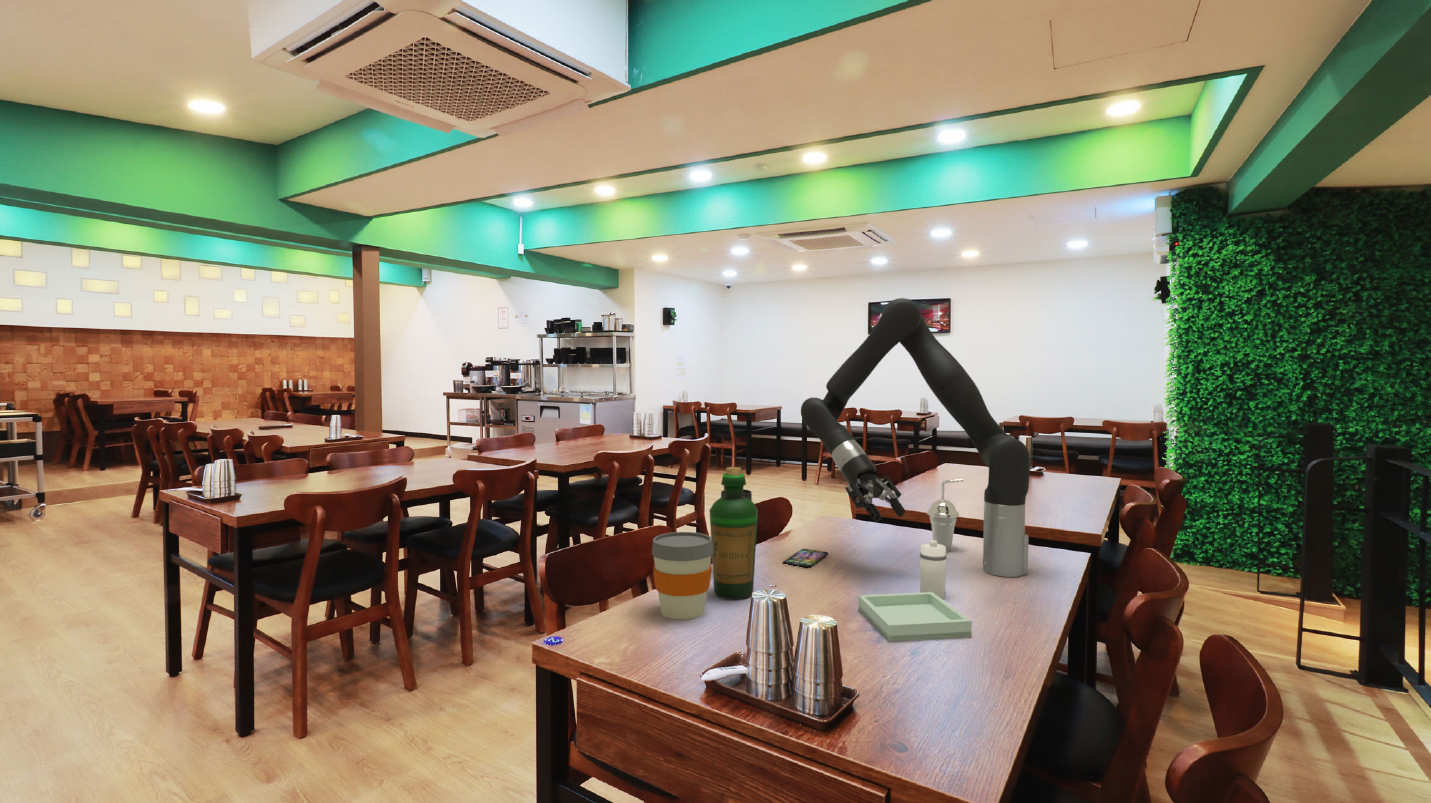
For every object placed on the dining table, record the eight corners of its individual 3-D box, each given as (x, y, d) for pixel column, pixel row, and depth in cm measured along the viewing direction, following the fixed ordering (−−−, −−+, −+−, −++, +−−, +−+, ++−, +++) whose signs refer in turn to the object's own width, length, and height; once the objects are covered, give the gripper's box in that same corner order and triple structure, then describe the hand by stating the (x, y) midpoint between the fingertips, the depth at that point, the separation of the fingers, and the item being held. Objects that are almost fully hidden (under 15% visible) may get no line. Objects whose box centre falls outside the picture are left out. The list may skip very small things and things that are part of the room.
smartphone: (780, 562, 166) (802, 548, 179) (780, 566, 166) (802, 551, 180) (810, 566, 163) (830, 552, 176) (809, 570, 163) (830, 555, 176)
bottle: (700, 597, 142) (700, 469, 141) (723, 583, 152) (723, 463, 150) (745, 605, 137) (745, 473, 136) (765, 590, 147) (765, 466, 145)
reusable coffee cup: (706, 625, 126) (705, 548, 126) (644, 620, 129) (643, 545, 128) (718, 602, 139) (718, 533, 138) (661, 598, 141) (661, 530, 141)
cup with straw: (937, 543, 186) (938, 474, 185) (966, 550, 179) (967, 478, 178) (920, 548, 181) (921, 477, 180) (949, 555, 174) (951, 481, 173)
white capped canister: (938, 591, 146) (939, 537, 145) (950, 599, 140) (951, 543, 140) (915, 592, 145) (915, 538, 145) (926, 600, 140) (927, 544, 139)
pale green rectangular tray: (932, 606, 137) (932, 592, 136) (971, 636, 121) (971, 621, 121) (858, 609, 135) (858, 595, 134) (888, 641, 119) (888, 625, 119)
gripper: (841, 455, 153) (880, 511, 145) (880, 450, 162) (919, 504, 153) (825, 474, 158) (861, 531, 149) (863, 469, 166) (900, 522, 158)
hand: (891, 517), depth 151 cm, fingers open, 8 cm apart
